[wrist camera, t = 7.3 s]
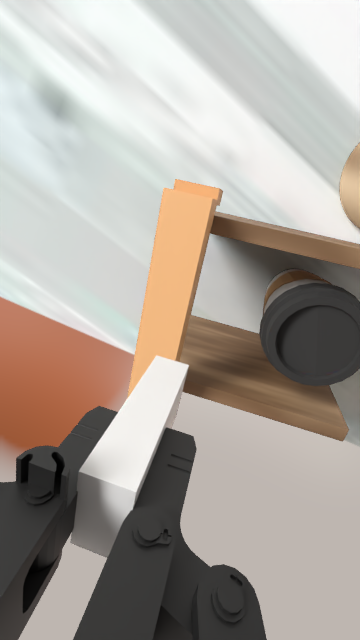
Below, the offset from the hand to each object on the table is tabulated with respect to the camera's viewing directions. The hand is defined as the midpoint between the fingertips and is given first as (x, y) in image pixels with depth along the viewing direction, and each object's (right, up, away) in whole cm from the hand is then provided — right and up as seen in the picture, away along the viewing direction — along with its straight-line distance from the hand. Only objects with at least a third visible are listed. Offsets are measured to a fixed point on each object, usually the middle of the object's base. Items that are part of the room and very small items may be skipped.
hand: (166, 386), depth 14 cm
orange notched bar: (0, +4, +12) cm, 12 cm away
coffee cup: (+14, +6, +23) cm, 28 cm away
